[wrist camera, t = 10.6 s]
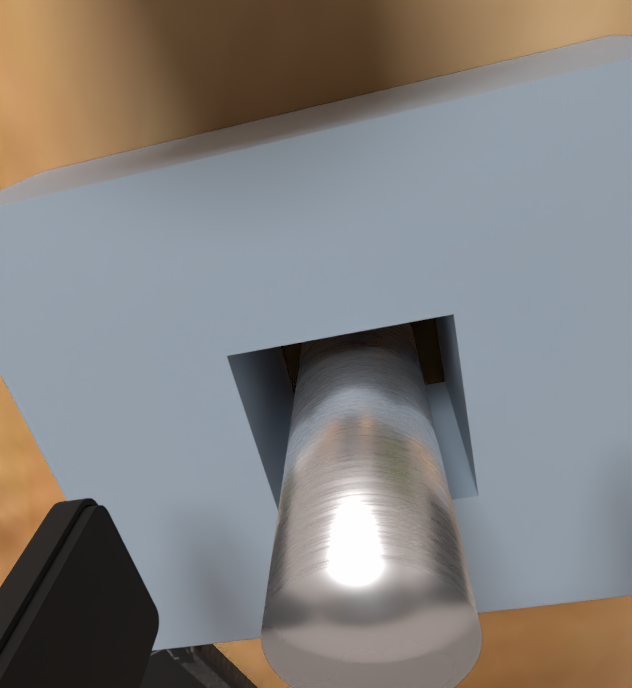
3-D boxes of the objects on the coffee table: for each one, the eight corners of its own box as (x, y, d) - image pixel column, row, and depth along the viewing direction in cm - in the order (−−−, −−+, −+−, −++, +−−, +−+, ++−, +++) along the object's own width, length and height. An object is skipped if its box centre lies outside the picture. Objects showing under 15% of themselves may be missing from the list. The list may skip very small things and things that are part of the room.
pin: (401, 269, 16) (469, 548, 7) (417, 364, 18) (492, 700, 9) (294, 290, 17) (233, 579, 8) (317, 382, 18) (290, 719, 9)
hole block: (609, 35, 13) (740, 32, 9) (613, 457, 19) (697, 587, 14) (44, 171, 15) (-79, 224, 11) (189, 518, 21) (146, 651, 16)
